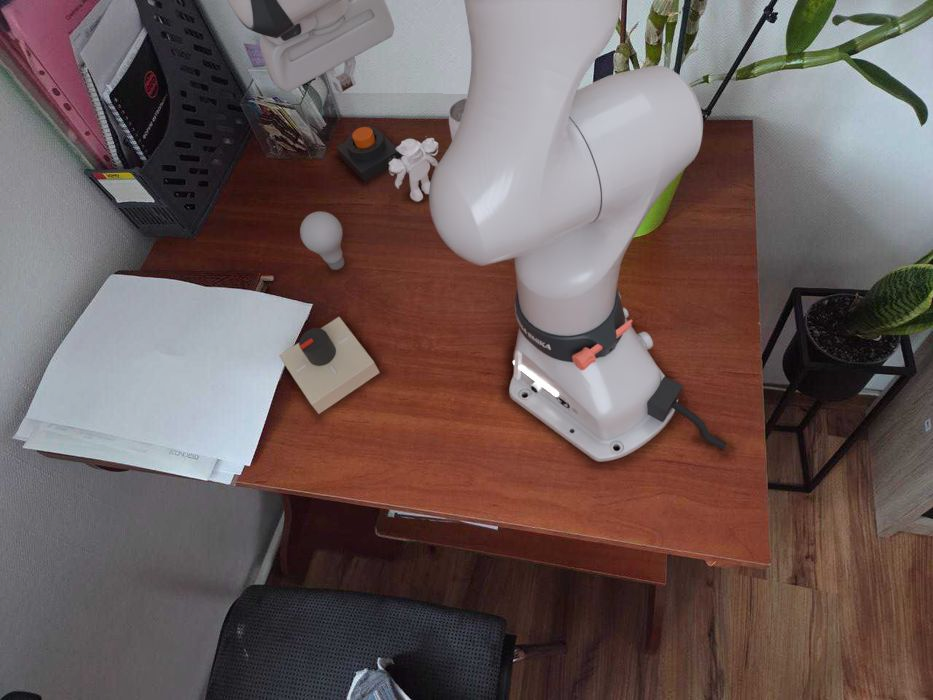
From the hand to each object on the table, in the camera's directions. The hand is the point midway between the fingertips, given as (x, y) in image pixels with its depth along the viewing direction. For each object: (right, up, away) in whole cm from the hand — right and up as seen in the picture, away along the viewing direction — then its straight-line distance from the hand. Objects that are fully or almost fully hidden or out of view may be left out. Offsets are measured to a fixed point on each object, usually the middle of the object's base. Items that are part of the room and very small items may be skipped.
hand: (345, 87), depth 97 cm
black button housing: (+2, -7, +13) cm, 15 cm away
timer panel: (0, -44, -10) cm, 45 cm away
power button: (+1, -5, +10) cm, 11 cm away
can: (+21, -11, +8) cm, 25 cm away
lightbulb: (-1, -28, 0) cm, 28 cm away
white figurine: (+12, -15, +6) cm, 20 cm away
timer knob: (-1, -42, -12) cm, 44 cm away
